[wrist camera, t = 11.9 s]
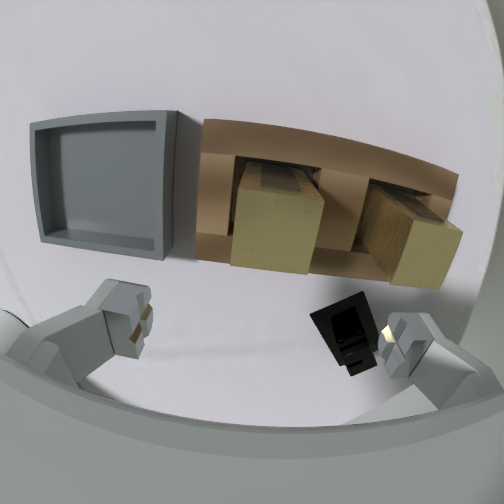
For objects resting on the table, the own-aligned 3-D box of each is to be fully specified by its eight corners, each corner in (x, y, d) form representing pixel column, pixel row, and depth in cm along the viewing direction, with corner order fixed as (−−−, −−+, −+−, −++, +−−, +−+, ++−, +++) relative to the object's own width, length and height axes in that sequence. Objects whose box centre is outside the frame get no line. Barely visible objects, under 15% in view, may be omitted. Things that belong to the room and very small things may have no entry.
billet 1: (292, 219, 21) (307, 275, 14) (241, 212, 21) (230, 265, 14) (302, 167, 19) (325, 198, 12) (247, 159, 19) (238, 185, 12)
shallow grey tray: (172, 246, 23) (163, 260, 21) (55, 231, 22) (41, 242, 20) (178, 110, 18) (166, 110, 16) (47, 120, 17) (29, 123, 15)
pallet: (409, 270, 23) (421, 284, 21) (201, 244, 23) (195, 259, 20) (442, 167, 18) (459, 174, 16) (210, 118, 18) (203, 118, 16)
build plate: (295, 303, 26) (300, 337, 22) (366, 270, 24) (383, 300, 20) (336, 371, 31) (343, 402, 26) (391, 347, 29) (404, 376, 25)
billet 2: (394, 236, 22) (439, 289, 15) (353, 229, 22) (390, 284, 14) (407, 190, 20) (464, 229, 13) (365, 180, 20) (414, 217, 13)
